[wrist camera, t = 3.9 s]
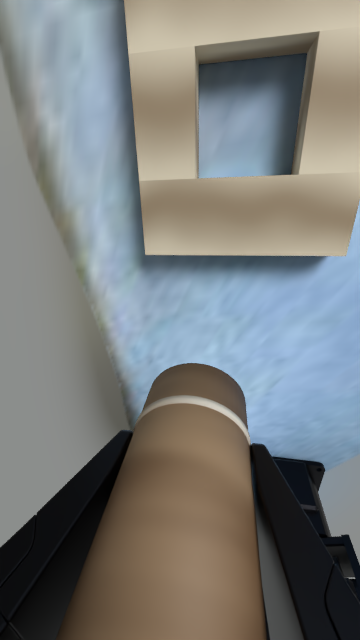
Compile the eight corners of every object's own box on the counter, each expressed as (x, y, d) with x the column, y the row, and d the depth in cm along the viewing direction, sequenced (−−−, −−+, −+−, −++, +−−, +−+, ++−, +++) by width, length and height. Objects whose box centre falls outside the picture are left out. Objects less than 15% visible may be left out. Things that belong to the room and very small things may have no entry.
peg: (243, 441, 12) (270, 837, 5) (152, 432, 12) (52, 767, 5) (250, 365, 10) (314, 824, 3) (144, 359, 10) (-29, 717, 3)
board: (333, 249, 17) (346, 256, 15) (153, 248, 19) (145, 254, 17) (408, -94, 11) (444, -149, 9) (132, -44, 13) (117, -82, 11)
